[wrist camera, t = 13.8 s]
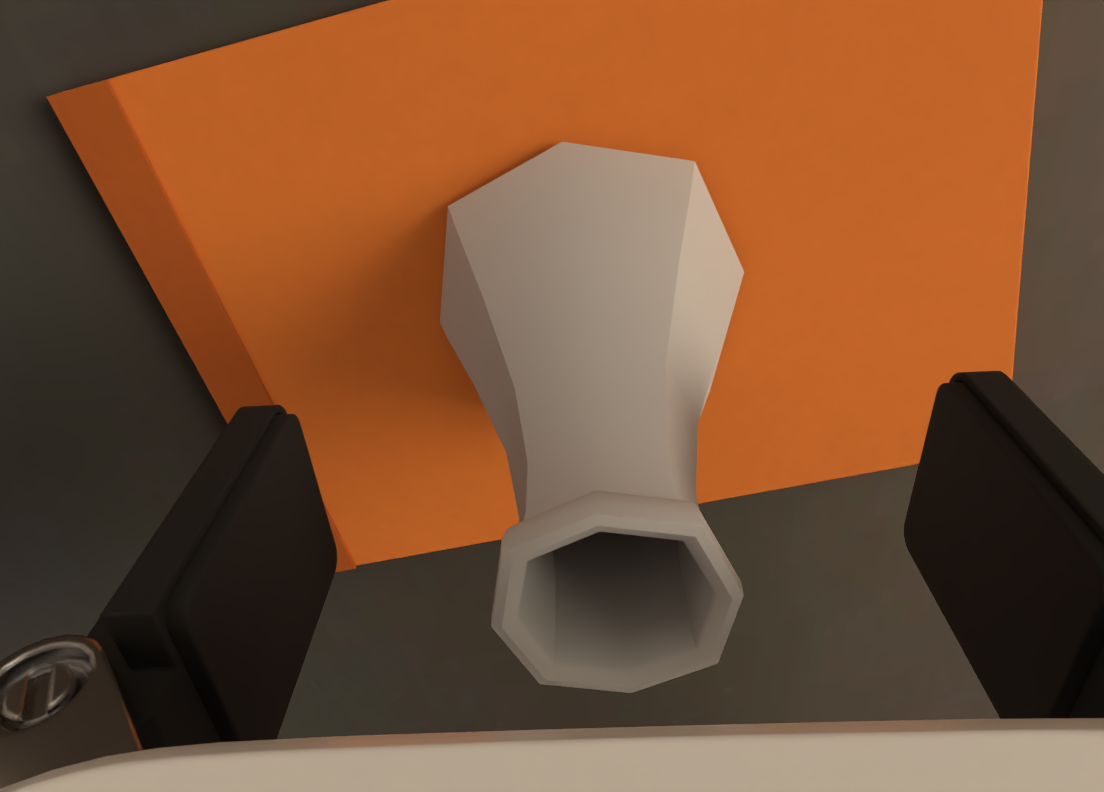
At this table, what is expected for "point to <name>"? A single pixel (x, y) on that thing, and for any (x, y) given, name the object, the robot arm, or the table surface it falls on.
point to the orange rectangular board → (595, 120)
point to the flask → (599, 406)
